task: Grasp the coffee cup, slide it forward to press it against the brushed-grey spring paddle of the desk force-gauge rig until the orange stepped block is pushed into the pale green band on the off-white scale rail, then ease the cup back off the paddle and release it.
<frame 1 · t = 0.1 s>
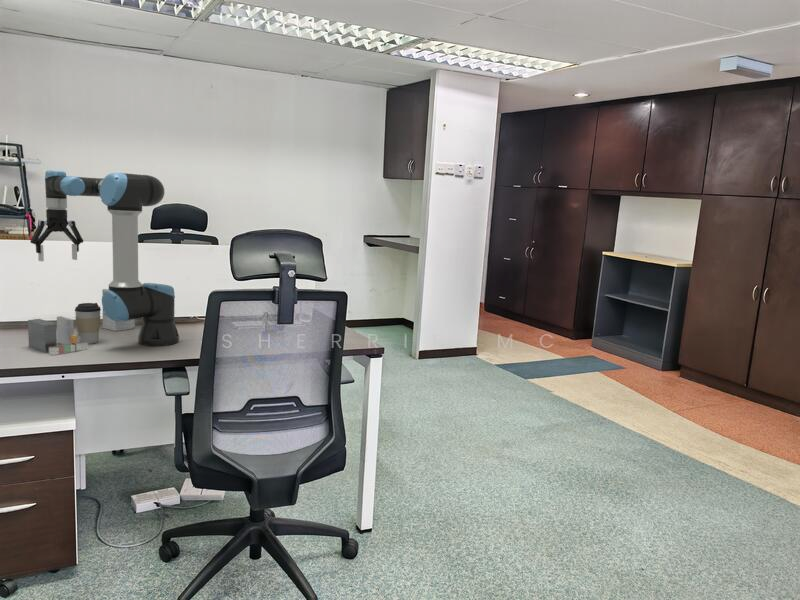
hand: (58, 260, 253), 28 cm above the table, fingers open, 13 cm apart
gauge housing: (67, 344, 229), on the table
supplement box: (118, 328, 260), on the table
orange stepped block: (73, 338, 221), point 4 cm above the table, slide at 0.0 cm
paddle: (68, 332, 226), point 5 cm above the table, slide at 0.0 cm
coffee cup: (88, 342, 235), on the table
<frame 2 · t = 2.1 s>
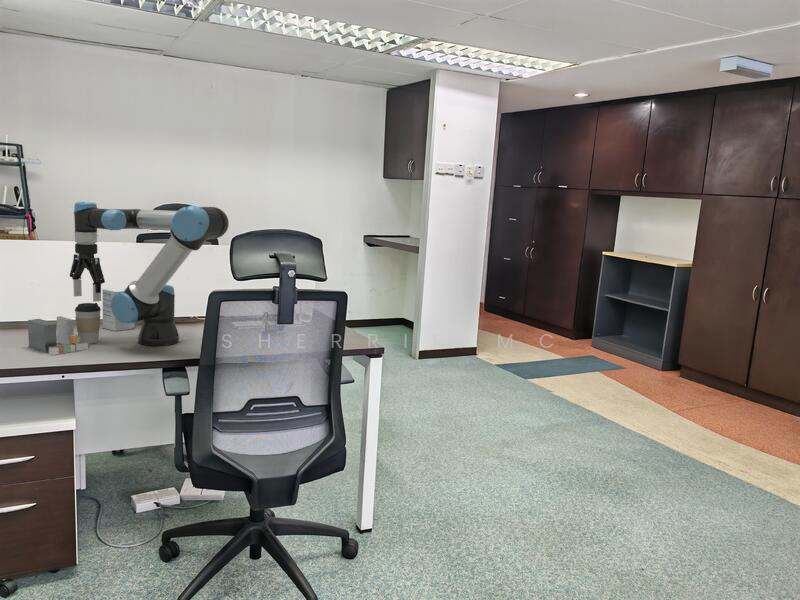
hand: (87, 298, 233), 17 cm above the table, fingers open, 13 cm apart
nothing on the table moved.
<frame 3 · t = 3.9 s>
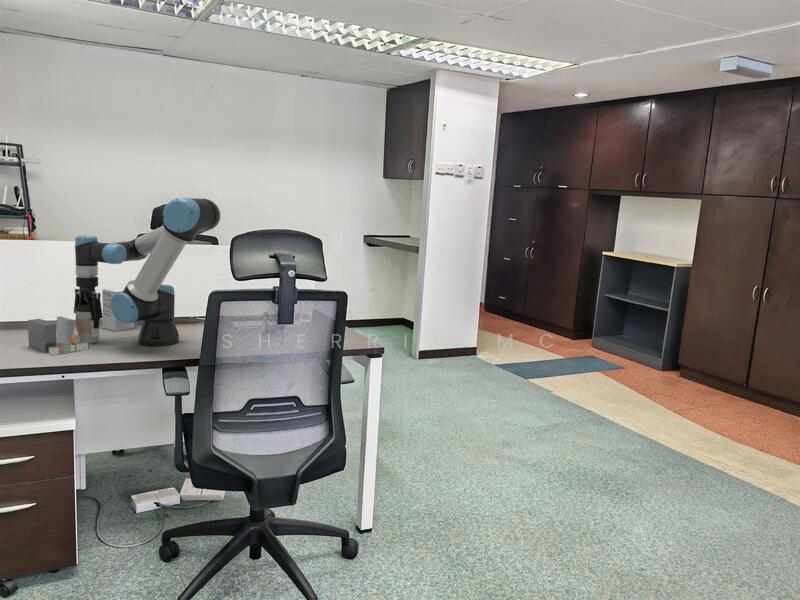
hand: (88, 334, 235), 3 cm above the table, fingers closed on coffee cup, 8 cm apart
coffee cup: (88, 342, 236), on the table, touching gripper
everything else where it was.
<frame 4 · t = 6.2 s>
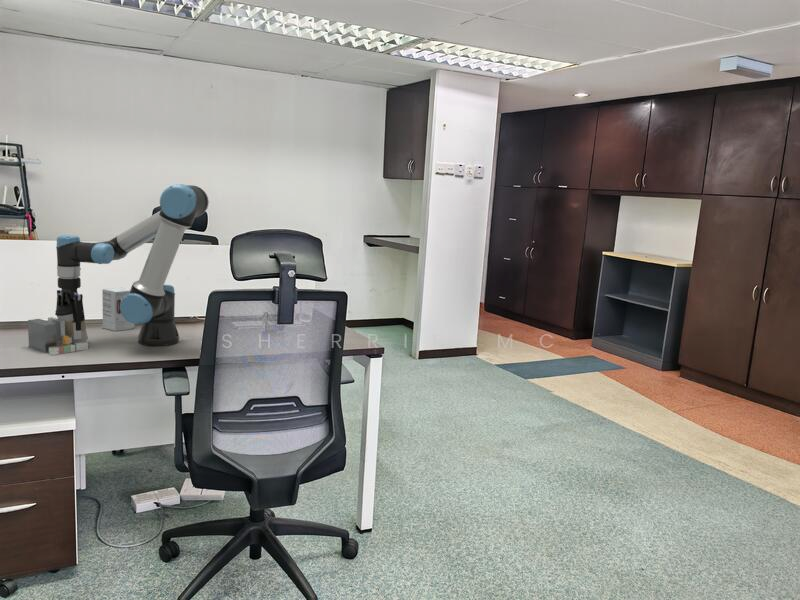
hand: (70, 336, 230), 3 cm above the table, fingers closed on coffee cup, 9 cm apart
orange stepped block: (66, 340, 219), point 4 cm above the table, slide at 2.7 cm, touching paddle
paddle: (59, 333, 224), point 5 cm above the table, slide at 3.2 cm, touching coffee cup, orange stepped block
coffee cup: (78, 341, 232), point 1 cm above the table, touching gripper, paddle
everything else where it was.
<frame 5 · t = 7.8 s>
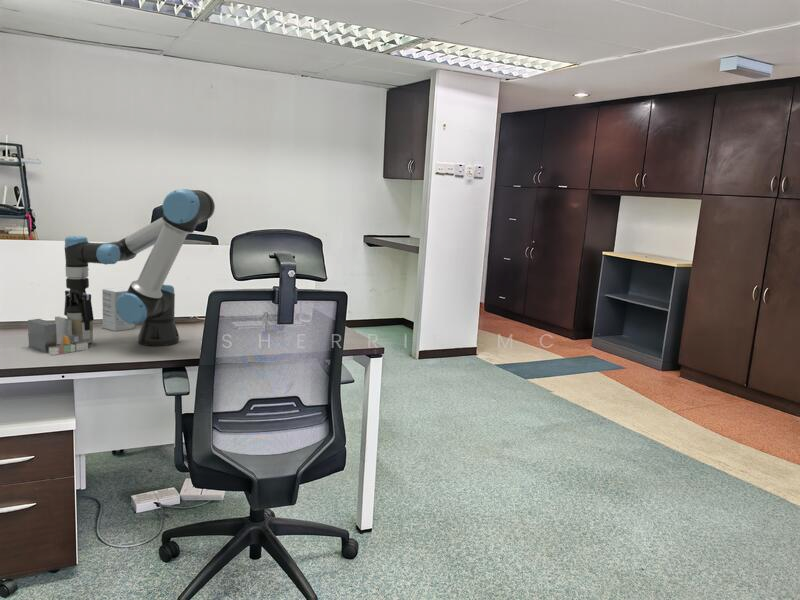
hand: (79, 336, 232), 3 cm above the table, fingers closed on coffee cup, 9 cm apart
orange stepped block: (66, 340, 219), point 4 cm above the table, slide at 2.7 cm
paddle: (66, 332, 226), point 5 cm above the table, slide at 0.7 cm
coffee cup: (83, 342, 233), on the table, touching gripper
everything else where it was.
when the fingers open (3 cm above the table, at t = 8.5 s): coffee cup stays where it is, on the table.
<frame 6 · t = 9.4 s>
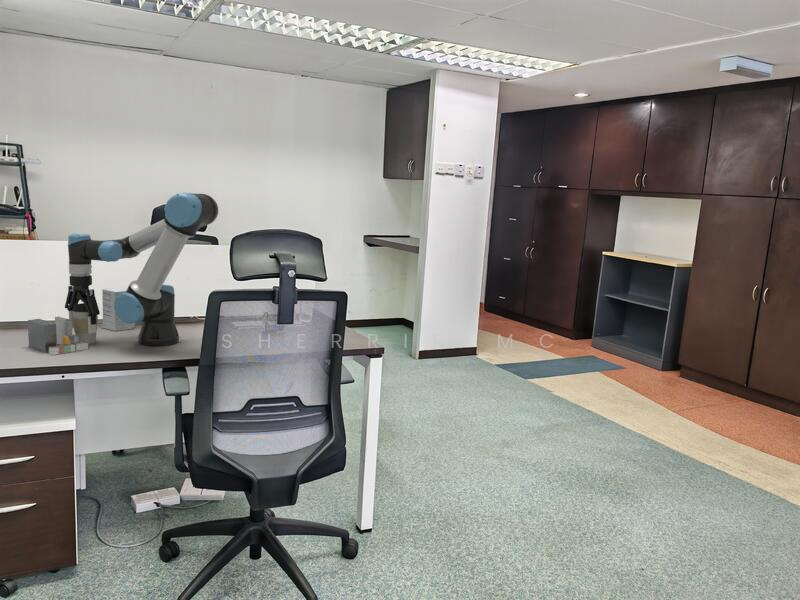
hand: (82, 330, 233), 5 cm above the table, fingers open, 13 cm apart
coffee cup: (86, 342, 235), on the table
everything else where it was.
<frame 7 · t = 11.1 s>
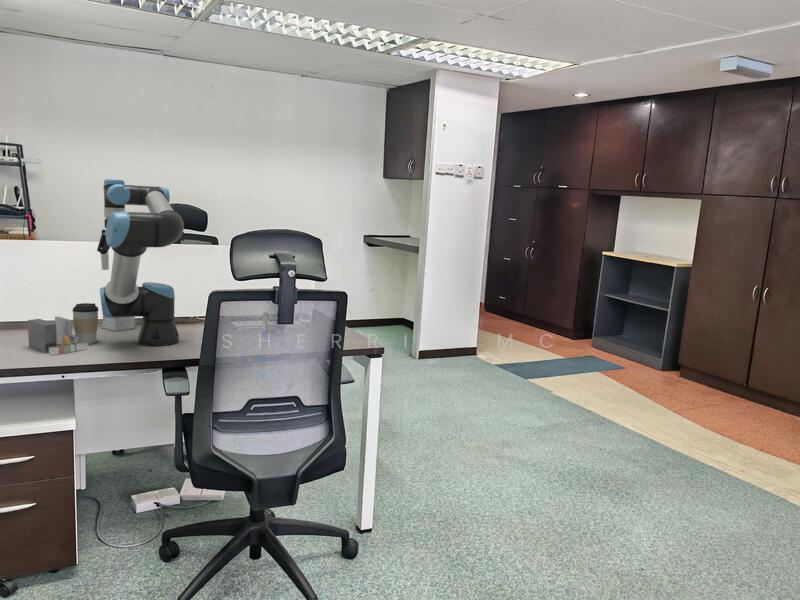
hand: (115, 271, 245), 26 cm above the table, fingers open, 13 cm apart
nothing on the table moved.
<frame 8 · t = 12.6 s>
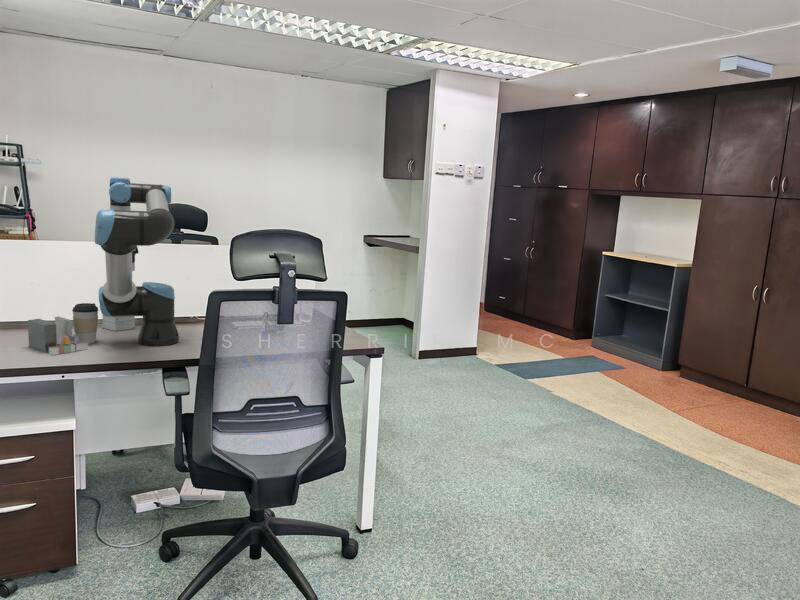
hand: (121, 269, 248), 27 cm above the table, fingers open, 13 cm apart
nothing on the table moved.
at the end: orange stepped block slide at 2.7 cm; coffee cup tilted 0°; the gripper is holding nothing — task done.
